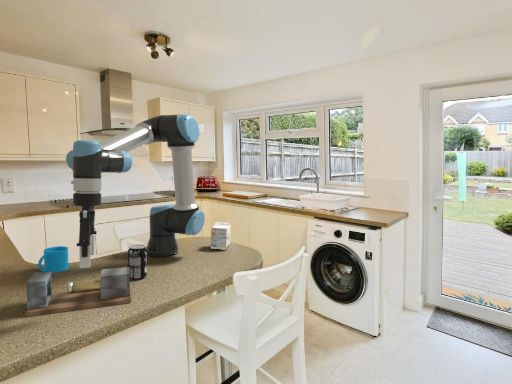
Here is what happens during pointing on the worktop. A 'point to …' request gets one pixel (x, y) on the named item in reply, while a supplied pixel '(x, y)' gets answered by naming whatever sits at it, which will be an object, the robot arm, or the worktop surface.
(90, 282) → the tube
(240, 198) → the worktop surface
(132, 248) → the beverage can
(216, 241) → the ink box
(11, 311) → the worktop surface
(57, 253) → the mug
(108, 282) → the rig
